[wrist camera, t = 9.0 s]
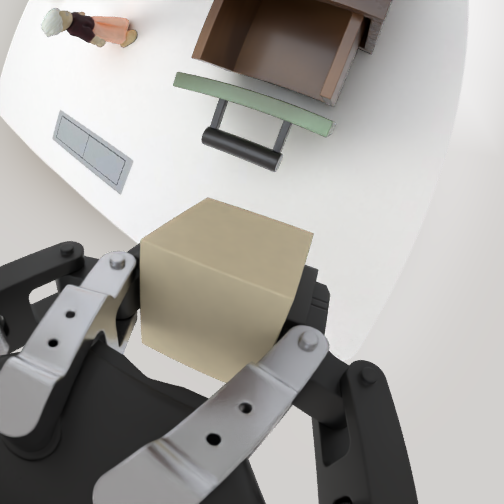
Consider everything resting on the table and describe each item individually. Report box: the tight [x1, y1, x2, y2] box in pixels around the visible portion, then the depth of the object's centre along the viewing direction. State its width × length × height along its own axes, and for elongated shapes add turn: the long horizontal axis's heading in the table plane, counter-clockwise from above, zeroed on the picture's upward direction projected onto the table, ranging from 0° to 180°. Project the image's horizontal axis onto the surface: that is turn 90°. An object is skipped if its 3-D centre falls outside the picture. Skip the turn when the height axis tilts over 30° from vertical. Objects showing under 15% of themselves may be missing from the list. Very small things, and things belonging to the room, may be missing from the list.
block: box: [140, 198, 313, 383], centre depth 10 cm, size 4×4×4 cm
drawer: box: [173, 0, 369, 172], centre depth 18 cm, size 18×12×8 cm
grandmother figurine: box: [41, 8, 137, 47], centre depth 19 cm, size 8×4×13 cm, turn 48°
